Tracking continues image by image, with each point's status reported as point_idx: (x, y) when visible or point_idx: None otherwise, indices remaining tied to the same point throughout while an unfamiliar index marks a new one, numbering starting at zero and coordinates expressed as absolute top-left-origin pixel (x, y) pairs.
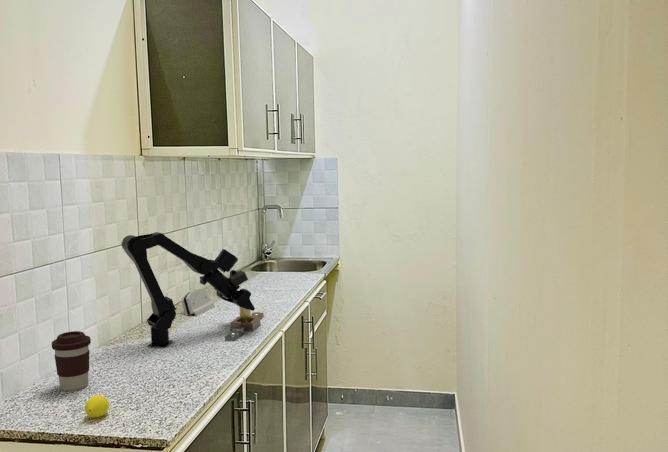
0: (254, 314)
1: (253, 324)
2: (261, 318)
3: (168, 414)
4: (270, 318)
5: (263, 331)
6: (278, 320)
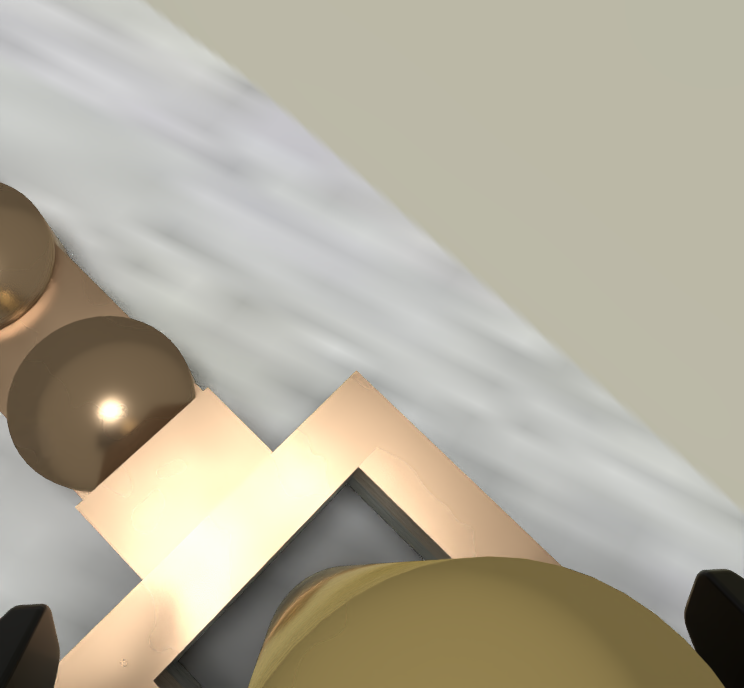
0: None
1: None
2: (59, 241)
3: None
4: (132, 147)
5: (661, 511)
6: (291, 122)
